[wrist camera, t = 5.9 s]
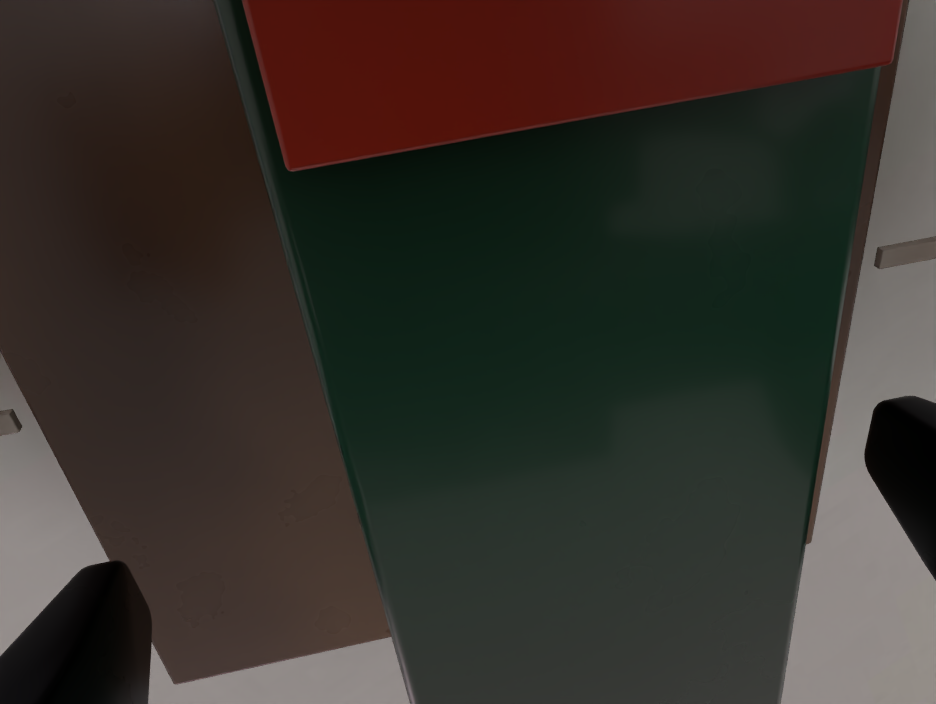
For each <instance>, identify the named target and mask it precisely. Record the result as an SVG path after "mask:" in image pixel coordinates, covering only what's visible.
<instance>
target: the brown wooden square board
mask: <svg viewBox="0 0 936 704" xmlns="http://www.w3.org/2000/svg"><path fill="white" fill-rule="evenodd" d="M908 4H909V0H903V4H902V10H901V16H900V22H899V28H898V34H897V40H896V46H895V52H894V58H893V61H892V63H890V64H888V65H886V66H881V71H880V77H879V83H878V90H877V96H876V102H875V109H874V115H873V121H872V128H871V134H870V140H869V147H868V153H867V159H866V166H865V172H864V178H863V185H862V191H861V197H860V204H859V210H858V216H857V223H856V229H855V235H854V242H853V248H852V254H851V261H850V267H849V273H848V280H847V286H846V292H845V299H844V305H843V311H842V318H841V324H840V330H839V337H838V343H837V349H836V356H835V362H834V368H833V375H832V381H831V387H830V394H829V400H828V406H827V413H826V419H825V425H824V432H823V438H822V444H821V451H820V457H819V463H818V470H817V476H816V482H815V489H814V495H813V501H812V508H811V514H810V520H809V527H808V533H807V539H806V544H809V543H811V540H812V535H813V529H814V524H815V518H816V513H817V507H818V502H819V496H820V491H821V485H822V480H823V474H824V468H825V463H826V457H827V452H828V446H829V441H830V435H831V430H832V424H833V419H834V413H835V408H836V402H837V397H838V391H839V386H840V380H841V375H842V369H843V364H844V358H845V352H846V347H847V341H848V336H849V330H850V325H851V319H852V314H853V308H854V303H855V297H856V292H857V286H858V281H859V275H860V270H861V264H862V259H863V253H864V247H865V242H866V236H867V231H868V225H869V220H870V214H871V209H872V203H873V198H874V192H875V187H876V181H877V176H878V170H879V165H880V159H881V154H882V148H883V143H884V137H885V131H886V126H887V120H888V115H889V109H890V104H891V98H892V93H893V87H894V82H895V76H896V71H897V65H898V60H899V54H900V49H901V43H902V38H903V32H904V26H905V21H906V15H907V10H908ZM935 258H936V236H935V237H930V238H925V239H919V240H914V241H909V242H903V243H898V244H893V245H887V246H882V247H878V248H877V253H876V258H875V263H874V266H875V267H877V268H879V269H883V268H888V267H893V266H898V265H904V264H909V263H914V262H919V261H925V260H930V259H935ZM0 351H1V353H2V355H3V357H4V359H5V361H6V363H7V365H8V367H9V369H10V371H11V373H12V374H13V376H14V378H15V380H16V382H17V384H18V386H19V388H20V390H21V392H22V394H23V396H24V397H25V399H26V401H27V403H28V405H29V407H30V409H31V411H32V413H33V415H34V417H35V419H36V420H37V422H38V424H39V426H40V428H41V430H42V432H43V434H44V436H45V438H46V440H47V442H48V443H49V445H50V447H51V449H52V451H53V453H54V455H55V457H56V459H57V461H58V463H59V465H60V467H61V468H62V470H63V472H64V474H65V476H66V478H67V480H68V482H69V484H70V486H71V488H72V490H73V491H74V493H75V495H76V497H77V499H78V501H79V503H80V505H81V507H82V509H83V511H84V513H85V514H86V516H87V518H88V520H89V522H90V524H91V526H92V528H93V530H94V532H95V534H96V536H97V537H98V539H99V541H100V543H101V545H102V547H103V549H104V551H105V553H106V555H107V557H108V559H109V560H110V561H114V560H119V561H123V562H124V563H125V564H126V565H127V566H128V567H129V569H130V571H131V573H132V575H133V577H134V579H135V581H136V583H137V585H138V587H139V589H140V591H141V593H142V594H143V596H144V598H145V600H146V602H147V604H148V607H149V609H150V613H151V618H152V643H153V645H154V647H155V649H156V651H157V652H158V654H159V656H160V658H161V660H162V662H163V664H164V666H165V668H166V670H167V672H168V674H169V675H170V677H171V679H172V681H173V683H174V684H181V683H186V682H190V681H195V680H199V679H204V678H208V677H213V676H217V675H222V674H226V673H231V672H235V671H240V670H244V669H249V668H253V667H258V666H262V665H267V664H271V663H276V662H280V661H285V660H289V659H294V658H298V657H302V656H307V655H311V654H316V653H320V652H325V651H329V650H334V649H338V648H343V647H347V646H352V645H356V644H361V643H365V642H370V641H374V640H379V639H383V638H388V637H391V633H390V629H389V626H388V622H387V619H386V615H385V612H384V608H383V605H382V601H381V597H380V594H379V590H378V587H377V583H376V580H375V576H374V572H373V569H372V565H371V562H370V558H369V555H368V551H367V547H366V544H365V540H364V537H363V533H362V530H361V526H360V523H359V519H358V515H357V512H356V508H355V505H354V501H353V498H352V494H351V490H350V487H349V483H348V480H347V476H346V473H345V469H344V466H343V462H342V458H341V455H340V451H339V448H338V444H337V441H336V437H335V433H334V430H333V426H332V423H331V419H330V416H329V412H328V409H327V405H326V401H325V398H324V394H323V391H322V387H321V384H320V380H319V376H318V373H317V369H316V366H315V362H314V359H313V355H312V351H311V348H310V344H309V341H308V337H307V334H306V330H305V327H304V323H303V319H302V316H301V312H300V309H299V305H298V302H297V298H296V294H295V291H294V287H293V284H292V280H291V277H290V273H289V270H288V266H287V262H286V259H285V255H284V252H283V248H282V245H281V241H280V237H279V234H278V230H277V227H276V223H275V220H274V216H273V213H272V209H271V205H270V202H269V198H268V195H267V191H266V188H265V184H264V180H263V177H262V173H261V170H260V166H259V163H258V159H257V155H256V152H255V148H254V145H253V141H252V138H251V134H250V131H249V127H248V123H247V120H246V116H245V113H244V109H243V106H242V102H241V98H240V95H239V91H238V88H237V84H236V81H235V77H234V74H233V70H232V66H231V63H230V59H229V56H228V52H227V49H226V45H225V41H224V38H223V34H222V31H221V27H220V24H219V20H218V16H217V13H216V9H215V6H214V2H213V0H0ZM21 428H22V425H21V423H20V421H19V420H18V418H17V416H16V414H15V412H14V410H13V409H10V410H4V411H0V436H2V435H7V434H13V433H18V432H20V430H21Z"/></svg>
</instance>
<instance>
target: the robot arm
mask: <svg viewBox="0 0 936 704" xmlns="http://www.w3.org/2000/svg"><path fill="white" fill-rule="evenodd" d="M864 455H865V463H866V467H867V470H868V472H869V474H870V476H871V477H872V479H873V481H874V482H875V484H876V486H877V487H878V489H879V490H880V492H881V494H882V495H883V497H884V499H885V500H886V502H887V503H888V505H889V507H890V508H891V510H892V512H893V513H894V515H895V516H896V518H897V520H898V521H899V523H900V525H901V526H902V528H903V530H904V531H905V533H906V534H907V536H908V538H909V539H910V541H911V543H912V544H913V546H914V547H915V549H916V551H917V552H918V554H919V556H920V557H921V559H922V560H923V562H924V564H925V565H926V567H927V568H928V570H929V571H930V573H931V574H932V576H933V577H934V579H935V580H936V403H933V402H931V401H928V400H925V399H922V398H919V397H916V396H904V397H899V398H894V399H889V400H884V401H882V402H880V403H878V404H877V406H876V407H875V408H874V411H873V415H872V419H871V424H870V429H869V434H868V438H867V443H866V448H865V454H864ZM151 642H152V618H151V613H150V609H149V607H148V604H147V602H146V600H145V598H144V596H143V594H142V593H141V591H140V589H139V587H138V585H137V583H136V581H135V579H134V577H133V575H132V573H131V571H130V569H129V567H128V566H127V565H126V564H125V563H124V562H123V561H119V560H114V561H109V562H105V563H100V564H95V565H90V566H87V567H85V568H83V569H81V570H80V571H79V572H78V573H77V574H76V575H75V576H74V577H73V578H72V579H71V581H70V582H69V583H68V584H67V585H66V586H65V587H64V588H63V589H62V590H61V591H60V592H59V594H58V595H57V596H56V597H55V598H54V599H53V600H52V601H51V602H50V603H49V604H48V605H47V606H46V608H45V609H44V610H43V611H42V612H41V613H40V614H39V615H38V616H37V617H36V618H35V619H34V621H33V622H32V623H31V624H30V625H29V626H28V627H27V628H26V629H25V630H24V631H23V632H22V633H21V635H20V636H19V637H18V638H17V639H16V640H15V641H14V642H13V643H12V644H11V645H10V646H9V648H8V649H7V650H6V651H5V652H4V653H3V654H2V655H1V656H0V704H148V695H149V677H150V660H151Z"/></svg>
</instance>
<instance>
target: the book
mask: <svg viewBox="0 0 936 704" xmlns="http://www.w3.org/2000/svg"><path fill="white" fill-rule="evenodd" d="M213 2H214V6H215V9H216V13H217V16H218V20H219V24H220V27H221V31H222V34H223V38H224V41H225V45H226V49H227V52H228V56H229V59H230V63H231V66H232V70H233V74H234V77H235V81H236V84H237V88H238V91H239V95H240V98H241V102H242V106H243V109H244V113H245V116H246V120H247V123H248V127H249V131H250V134H251V138H252V141H253V145H254V148H255V152H256V155H257V159H258V163H259V166H260V170H261V173H262V177H263V180H264V184H265V188H266V191H267V195H268V198H269V202H270V205H271V209H272V213H273V216H274V220H275V223H276V227H277V230H278V234H279V237H280V241H281V245H282V248H283V252H284V255H285V259H286V262H287V266H288V270H289V273H290V277H291V280H292V284H293V287H294V291H295V294H296V298H297V302H298V305H299V309H300V312H301V316H302V319H303V323H304V327H305V330H306V334H307V337H308V341H309V344H310V348H311V351H312V355H313V359H314V362H315V366H316V369H317V373H318V376H319V380H320V384H321V387H322V391H323V394H324V398H325V401H326V405H327V409H328V412H329V416H330V419H331V423H332V426H333V430H334V433H335V437H336V441H337V444H338V448H339V451H340V455H341V458H342V462H343V466H344V469H345V473H346V476H347V480H348V483H349V487H350V490H351V494H352V498H353V501H354V505H355V508H356V512H357V515H358V519H359V523H360V526H361V530H362V533H363V537H364V540H365V544H366V547H367V551H368V555H369V558H370V562H371V565H372V569H373V572H374V576H375V580H376V583H377V587H378V590H379V594H380V597H381V601H382V605H383V608H384V612H385V615H386V619H387V622H388V626H389V629H390V633H391V637H392V640H393V644H394V647H395V651H396V654H397V658H398V662H399V665H400V669H401V672H402V676H403V679H404V683H405V686H406V690H407V694H408V697H409V701H410V704H781V698H782V691H783V685H784V679H785V672H786V666H787V660H788V653H789V647H790V641H791V634H792V628H793V622H794V615H795V609H796V603H797V596H798V590H799V584H800V577H801V571H802V565H803V558H804V552H805V546H806V539H807V533H808V527H809V520H810V514H811V508H812V501H813V495H814V489H815V482H816V476H817V470H818V463H819V457H820V451H821V444H822V438H823V432H824V425H825V419H826V413H827V406H828V400H829V394H830V387H831V381H832V375H833V368H834V362H835V356H836V349H837V343H838V337H839V330H840V324H841V318H842V311H843V305H844V299H845V292H846V286H847V280H848V273H849V267H850V261H851V254H852V248H853V242H854V235H855V229H856V223H857V216H858V210H859V204H860V197H861V191H862V185H863V178H864V172H865V166H866V159H867V153H868V147H869V140H870V134H871V128H872V121H873V115H874V109H875V102H876V96H877V90H878V83H879V77H880V71H881V66H886V65H888V64H890V63H892V61H893V58H894V52H895V46H896V40H897V34H898V28H899V22H900V16H901V10H902V4H903V0H213Z"/></svg>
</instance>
